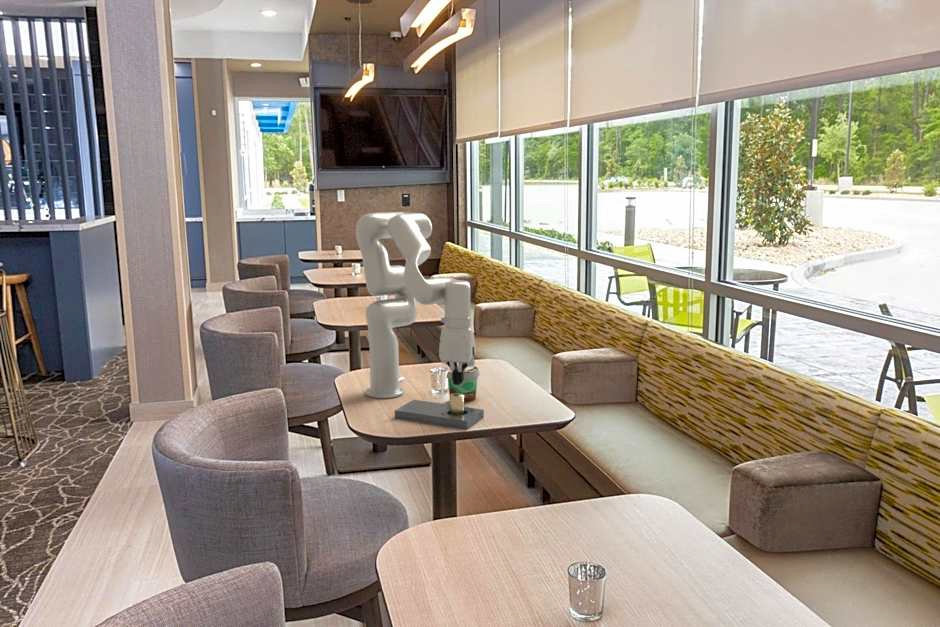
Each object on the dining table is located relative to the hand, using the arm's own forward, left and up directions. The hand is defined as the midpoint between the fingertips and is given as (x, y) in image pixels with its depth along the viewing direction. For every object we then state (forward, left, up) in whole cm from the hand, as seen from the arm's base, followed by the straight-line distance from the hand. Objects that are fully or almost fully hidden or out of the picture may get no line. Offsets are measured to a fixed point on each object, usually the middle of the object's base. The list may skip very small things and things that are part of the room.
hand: (457, 383), depth 229 cm
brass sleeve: (0, 0, -12) cm, 12 cm away
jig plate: (0, -6, -12) cm, 13 cm away
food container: (-20, -6, -12) cm, 24 cm away
